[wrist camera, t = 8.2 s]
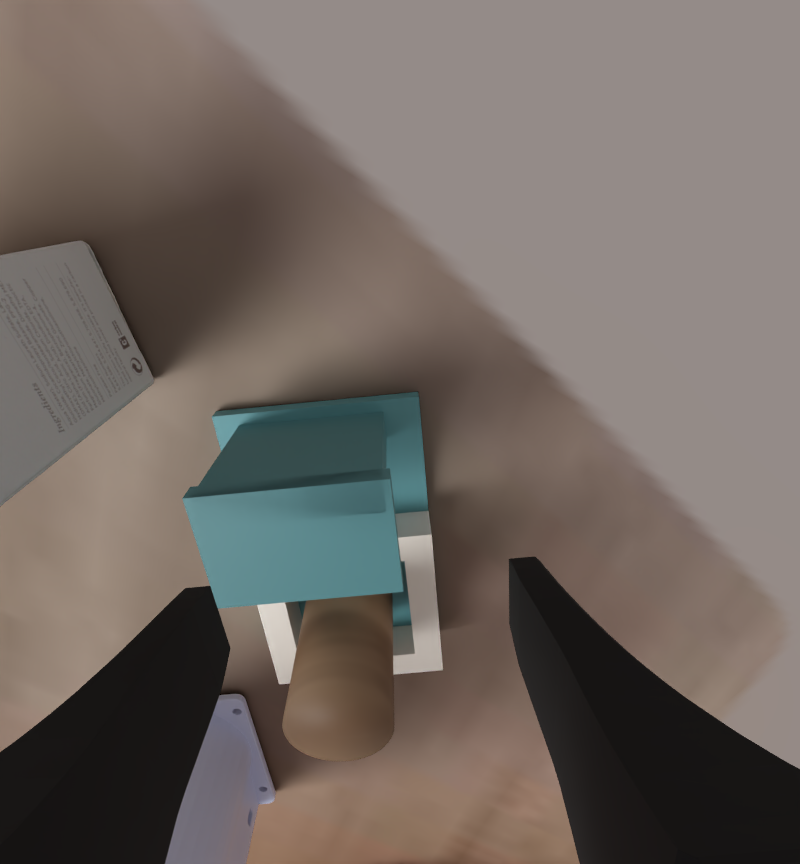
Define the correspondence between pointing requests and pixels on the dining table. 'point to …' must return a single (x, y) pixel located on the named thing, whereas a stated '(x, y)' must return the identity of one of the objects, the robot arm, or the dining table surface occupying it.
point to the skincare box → (59, 358)
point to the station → (321, 518)
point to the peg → (342, 679)
